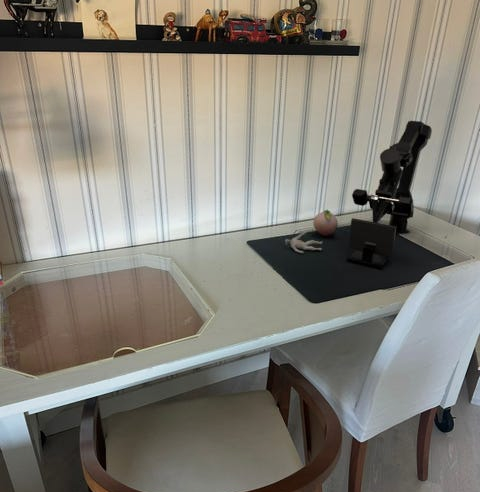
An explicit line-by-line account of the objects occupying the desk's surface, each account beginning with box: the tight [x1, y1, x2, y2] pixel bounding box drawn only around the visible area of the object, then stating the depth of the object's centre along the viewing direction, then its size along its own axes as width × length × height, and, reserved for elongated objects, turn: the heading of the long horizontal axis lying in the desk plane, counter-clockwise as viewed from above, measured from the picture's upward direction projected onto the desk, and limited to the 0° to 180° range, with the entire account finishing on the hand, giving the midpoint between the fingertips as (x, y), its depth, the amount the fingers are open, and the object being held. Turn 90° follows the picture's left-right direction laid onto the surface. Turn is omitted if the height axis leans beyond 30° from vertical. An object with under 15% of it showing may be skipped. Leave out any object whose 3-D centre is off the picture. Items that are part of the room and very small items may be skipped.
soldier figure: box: [284, 231, 323, 254], centre depth 165 cm, size 8×5×12 cm
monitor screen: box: [348, 217, 396, 257], centre depth 155 cm, size 2×14×10 cm, turn 59°
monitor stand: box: [346, 245, 390, 270], centre depth 157 cm, size 8×11×5 cm
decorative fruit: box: [313, 209, 339, 237], centre depth 176 cm, size 9×8×10 cm
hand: (374, 224), depth 153 cm, fingers closed, pressing on monitor screen
